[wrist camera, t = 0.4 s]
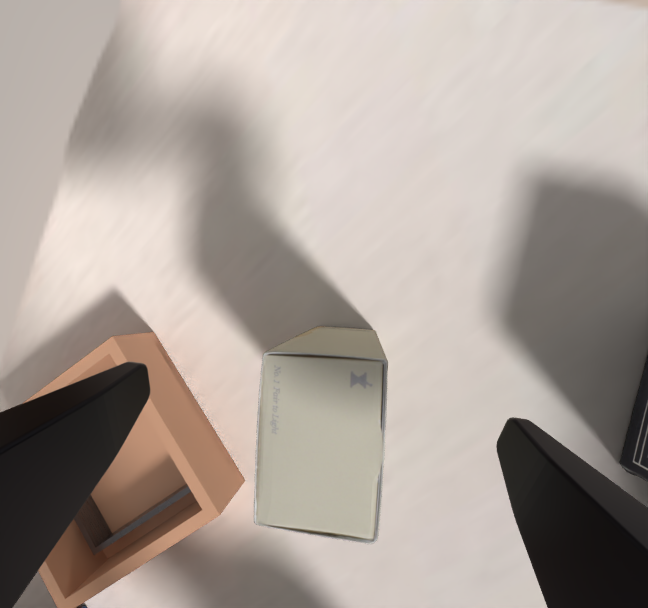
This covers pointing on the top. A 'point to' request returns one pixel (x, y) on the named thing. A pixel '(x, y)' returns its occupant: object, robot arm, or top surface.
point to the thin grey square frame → (102, 536)
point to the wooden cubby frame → (143, 475)
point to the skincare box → (322, 435)
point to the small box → (638, 434)
